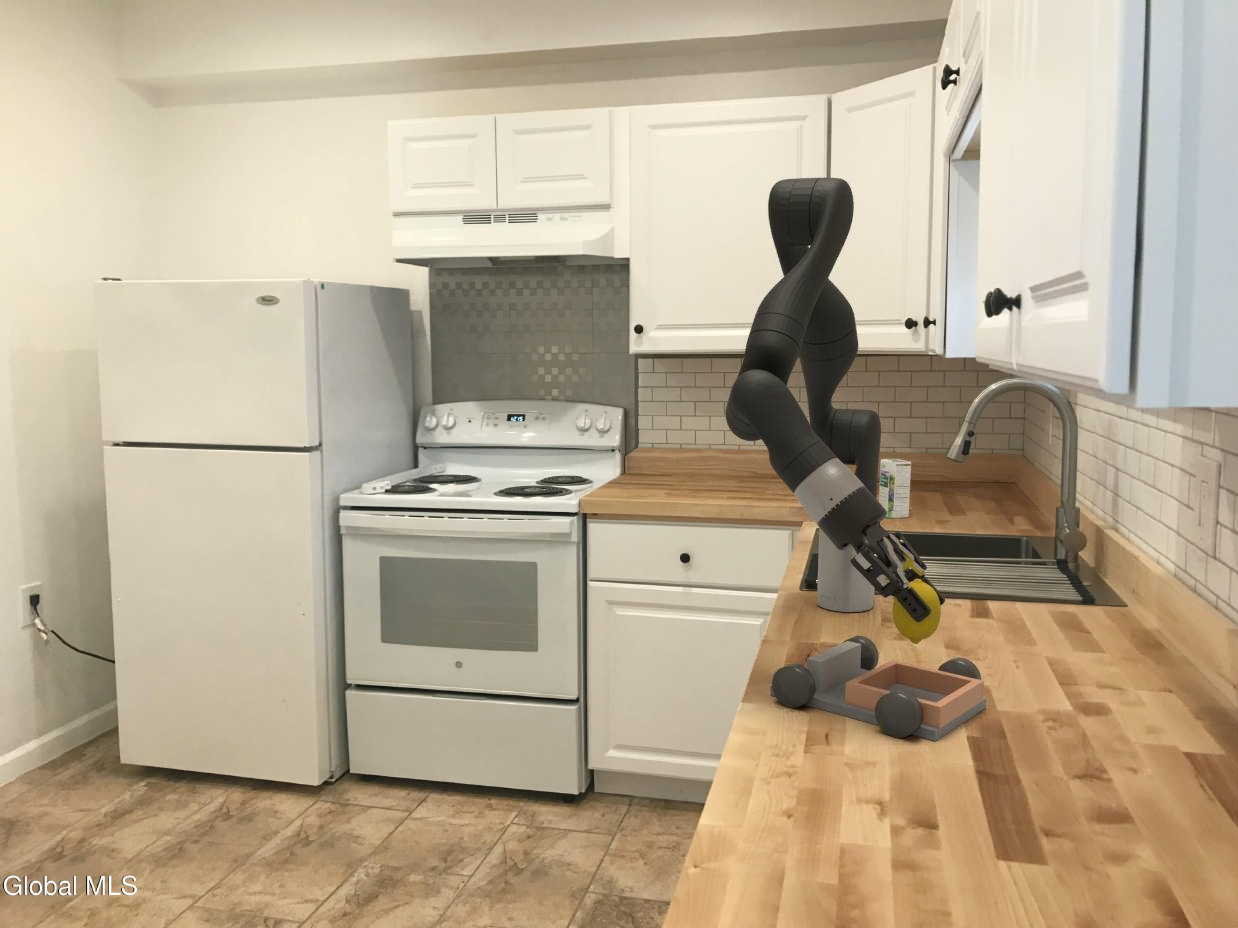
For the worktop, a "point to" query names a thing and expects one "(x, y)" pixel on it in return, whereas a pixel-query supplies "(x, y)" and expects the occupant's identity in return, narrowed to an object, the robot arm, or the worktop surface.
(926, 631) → the lemon
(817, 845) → the worktop surface
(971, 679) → the chassis
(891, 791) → the worktop surface
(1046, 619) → the worktop surface
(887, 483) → the syrup box
